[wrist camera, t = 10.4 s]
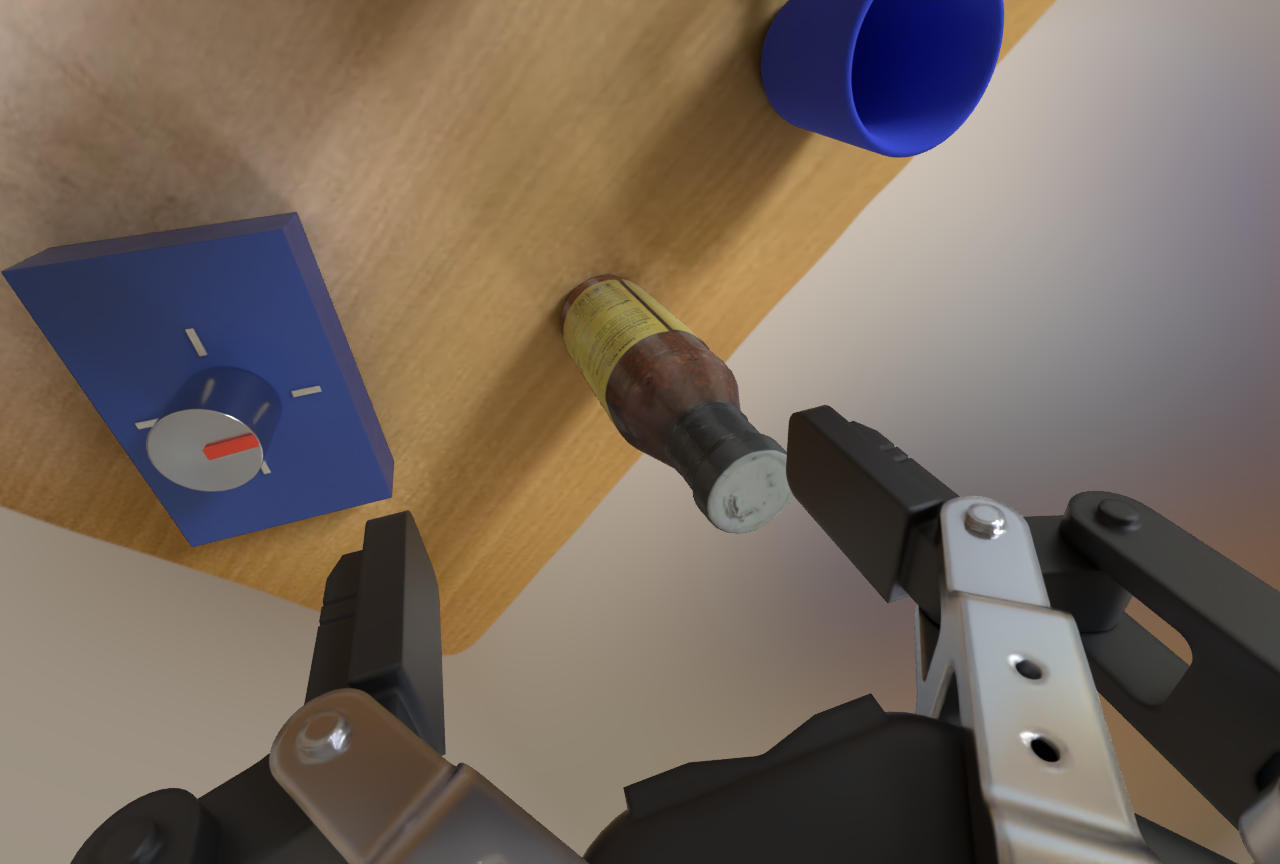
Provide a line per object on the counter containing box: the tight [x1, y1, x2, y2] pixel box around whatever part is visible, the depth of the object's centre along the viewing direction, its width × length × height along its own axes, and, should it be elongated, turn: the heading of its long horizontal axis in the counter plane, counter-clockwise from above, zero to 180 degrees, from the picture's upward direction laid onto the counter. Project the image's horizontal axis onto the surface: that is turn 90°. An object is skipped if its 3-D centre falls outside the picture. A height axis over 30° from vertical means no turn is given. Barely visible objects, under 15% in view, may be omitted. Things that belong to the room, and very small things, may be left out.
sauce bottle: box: [560, 275, 793, 534], centre depth 30 cm, size 6×6×20 cm
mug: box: [761, 0, 1004, 157], centre depth 29 cm, size 8×12×10 cm
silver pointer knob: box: [146, 367, 281, 492], centre depth 28 cm, size 4×4×5 cm
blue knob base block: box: [1, 212, 394, 547], centre depth 32 cm, size 16×11×4 cm
